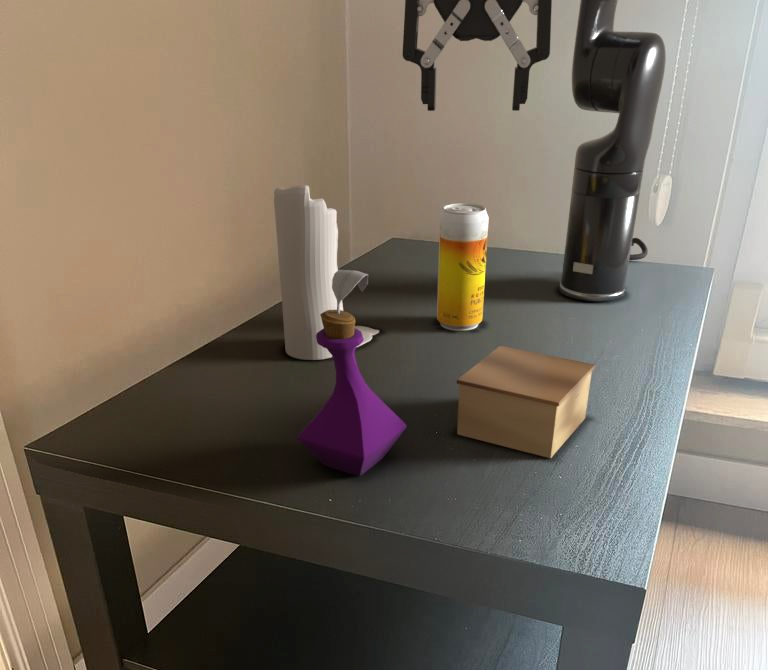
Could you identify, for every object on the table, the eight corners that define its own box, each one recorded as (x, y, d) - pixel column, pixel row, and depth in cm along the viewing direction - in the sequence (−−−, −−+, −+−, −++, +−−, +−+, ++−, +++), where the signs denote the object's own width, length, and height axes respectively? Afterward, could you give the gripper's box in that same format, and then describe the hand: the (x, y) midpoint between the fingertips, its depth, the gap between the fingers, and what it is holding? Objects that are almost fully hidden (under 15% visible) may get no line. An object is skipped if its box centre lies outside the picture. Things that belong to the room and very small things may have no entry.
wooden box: (496, 397, 88) (500, 345, 85) (587, 418, 84) (595, 364, 80) (454, 434, 81) (456, 379, 77) (551, 460, 76) (559, 402, 73)
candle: (390, 334, 104) (390, 170, 94) (312, 365, 96) (302, 189, 85) (351, 321, 109) (347, 163, 98) (273, 350, 100) (259, 180, 89)
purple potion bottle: (364, 489, 72) (360, 291, 62) (298, 468, 75) (284, 277, 65) (407, 455, 77) (409, 268, 67) (343, 436, 80) (336, 255, 71)
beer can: (479, 333, 105) (486, 214, 96) (433, 330, 106) (436, 212, 97) (484, 318, 110) (491, 203, 101) (440, 315, 111) (443, 201, 102)
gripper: (559, -88, 75) (542, 105, 84) (407, -85, 76) (406, 105, 85) (564, -95, 69) (545, 115, 77) (399, -91, 70) (399, 114, 79)
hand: (473, 109), depth 81 cm, fingers open, 8 cm apart
